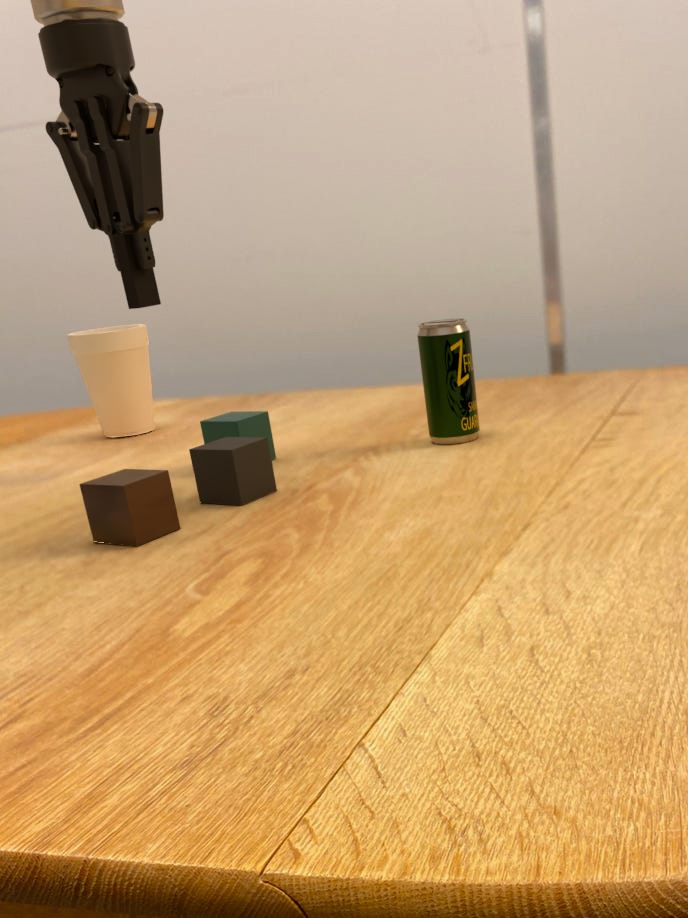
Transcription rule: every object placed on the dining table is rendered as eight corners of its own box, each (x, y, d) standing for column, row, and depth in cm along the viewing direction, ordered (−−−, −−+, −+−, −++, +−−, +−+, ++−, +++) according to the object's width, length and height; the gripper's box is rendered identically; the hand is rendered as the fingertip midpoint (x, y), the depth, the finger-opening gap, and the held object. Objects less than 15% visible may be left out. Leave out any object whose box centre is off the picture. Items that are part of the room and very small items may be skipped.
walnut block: (93, 543, 87) (79, 483, 86) (138, 525, 91) (124, 468, 90) (137, 546, 85) (123, 485, 83) (180, 528, 89) (168, 469, 87)
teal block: (209, 469, 111) (199, 421, 109) (240, 457, 115) (231, 411, 113) (245, 470, 108) (236, 421, 107) (276, 458, 112) (268, 411, 111)
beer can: (421, 445, 111) (407, 327, 106) (441, 434, 115) (428, 320, 111) (469, 444, 109) (456, 323, 104) (487, 433, 113) (476, 316, 109)
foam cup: (135, 440, 132) (111, 332, 127) (77, 442, 135) (51, 337, 130) (181, 424, 140) (160, 322, 135) (124, 426, 143) (102, 326, 138)
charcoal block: (199, 503, 97) (188, 449, 95) (235, 489, 101) (226, 436, 99) (242, 505, 94) (231, 449, 93) (277, 490, 98) (267, 437, 97)
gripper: (-3, 35, 92) (67, 315, 101) (99, 5, 86) (164, 308, 95) (66, 39, 98) (127, 305, 107) (166, 12, 91) (222, 297, 100)
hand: (145, 306), depth 101 cm, fingers closed
